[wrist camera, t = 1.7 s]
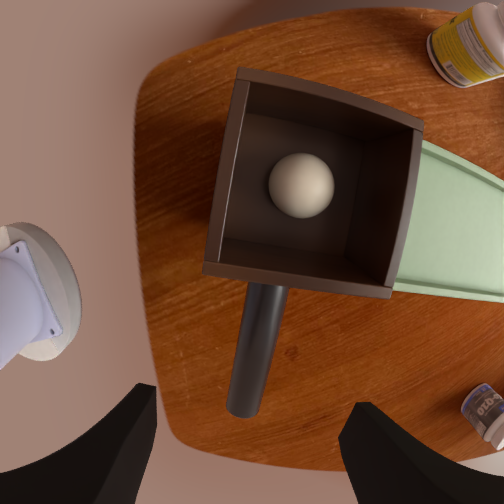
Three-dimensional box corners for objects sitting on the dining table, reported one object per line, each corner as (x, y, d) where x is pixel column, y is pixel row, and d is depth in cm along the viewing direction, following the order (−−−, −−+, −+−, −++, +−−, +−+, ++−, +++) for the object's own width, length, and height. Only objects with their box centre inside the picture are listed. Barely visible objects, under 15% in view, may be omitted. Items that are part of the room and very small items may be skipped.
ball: (278, 222, 14) (281, 230, 11) (260, 165, 13) (259, 160, 11) (333, 205, 14) (350, 210, 11) (316, 149, 13) (330, 141, 10)
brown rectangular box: (197, 362, 16) (187, 422, 11) (236, 103, 13) (238, 65, 8) (313, 373, 17) (336, 430, 12) (370, 135, 14) (424, 120, 9)
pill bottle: (489, 375, 23) (528, 412, 15) (485, 398, 24) (519, 434, 16) (460, 397, 23) (499, 440, 15) (458, 418, 25) (490, 459, 16)
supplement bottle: (456, 34, 15) (528, 1, 5) (478, 89, 16) (560, 71, 7) (414, 28, 15) (489, -21, 5) (438, 88, 16) (531, 59, 7)
